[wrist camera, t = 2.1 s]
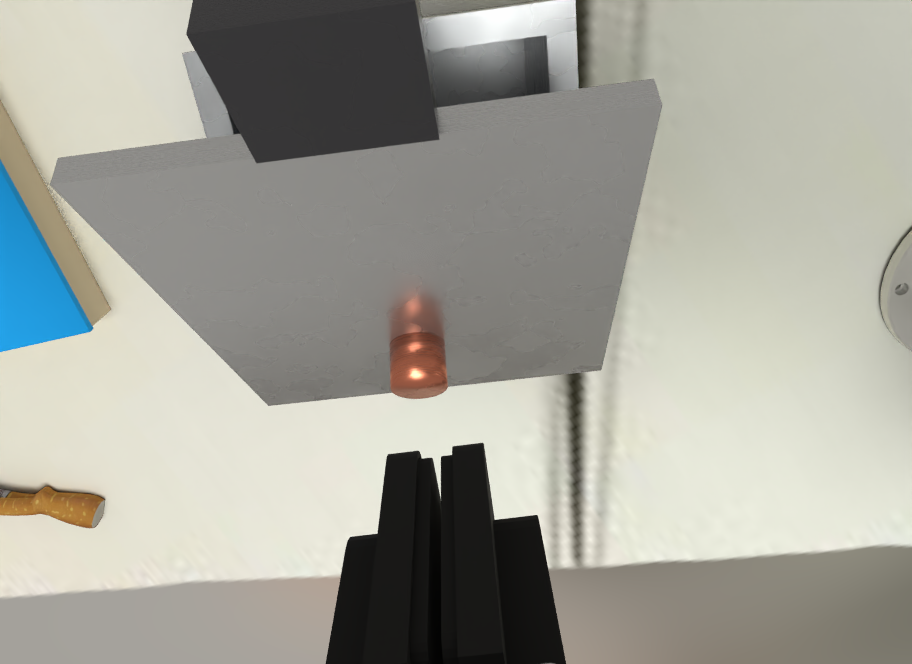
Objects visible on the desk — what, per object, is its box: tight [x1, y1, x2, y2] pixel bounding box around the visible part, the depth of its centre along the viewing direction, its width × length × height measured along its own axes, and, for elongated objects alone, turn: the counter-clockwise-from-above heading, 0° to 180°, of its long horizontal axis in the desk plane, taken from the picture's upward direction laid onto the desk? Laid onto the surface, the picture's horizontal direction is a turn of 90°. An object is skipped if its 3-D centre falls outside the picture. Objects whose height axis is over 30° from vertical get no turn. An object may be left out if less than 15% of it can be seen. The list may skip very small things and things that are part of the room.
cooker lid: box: [50, 0, 662, 406], centre depth 23 cm, size 17×21×3 cm
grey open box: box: [182, 0, 579, 138], centre depth 35 cm, size 20×16×12 cm
